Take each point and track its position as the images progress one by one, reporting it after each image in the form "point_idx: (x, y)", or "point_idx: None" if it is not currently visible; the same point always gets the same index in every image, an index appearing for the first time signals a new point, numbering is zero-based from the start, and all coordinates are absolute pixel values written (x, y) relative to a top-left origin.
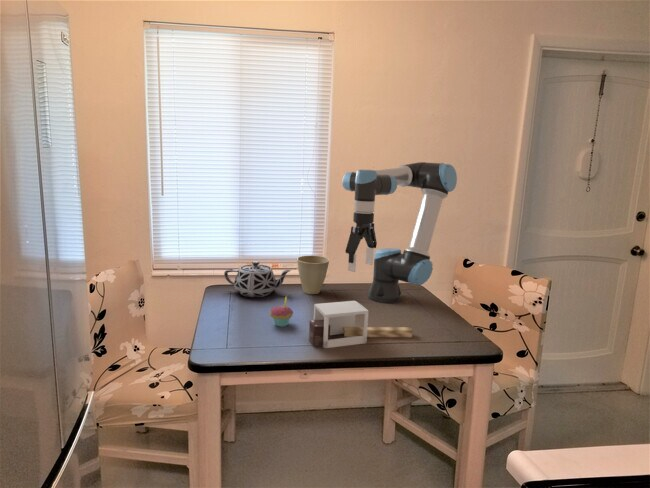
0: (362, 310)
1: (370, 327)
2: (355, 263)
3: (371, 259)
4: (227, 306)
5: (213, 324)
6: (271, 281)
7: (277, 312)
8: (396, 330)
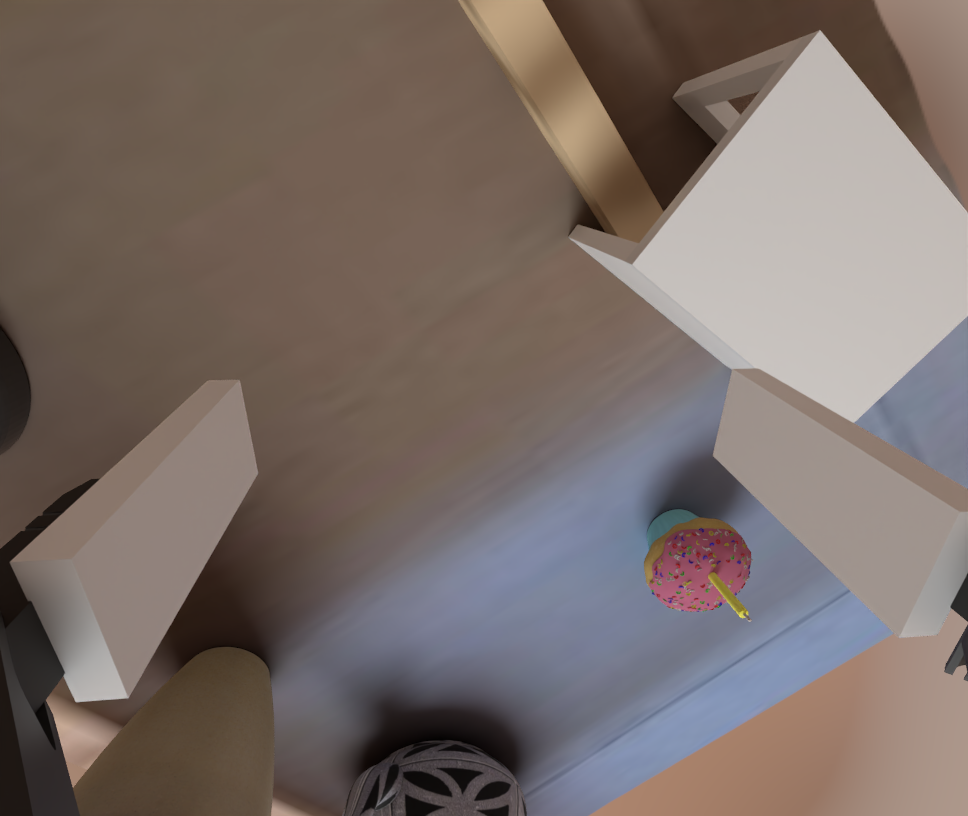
0: (836, 83)
1: (559, 127)
2: (821, 417)
3: (207, 425)
4: (620, 742)
5: (789, 668)
6: (427, 802)
7: (748, 568)
8: None
